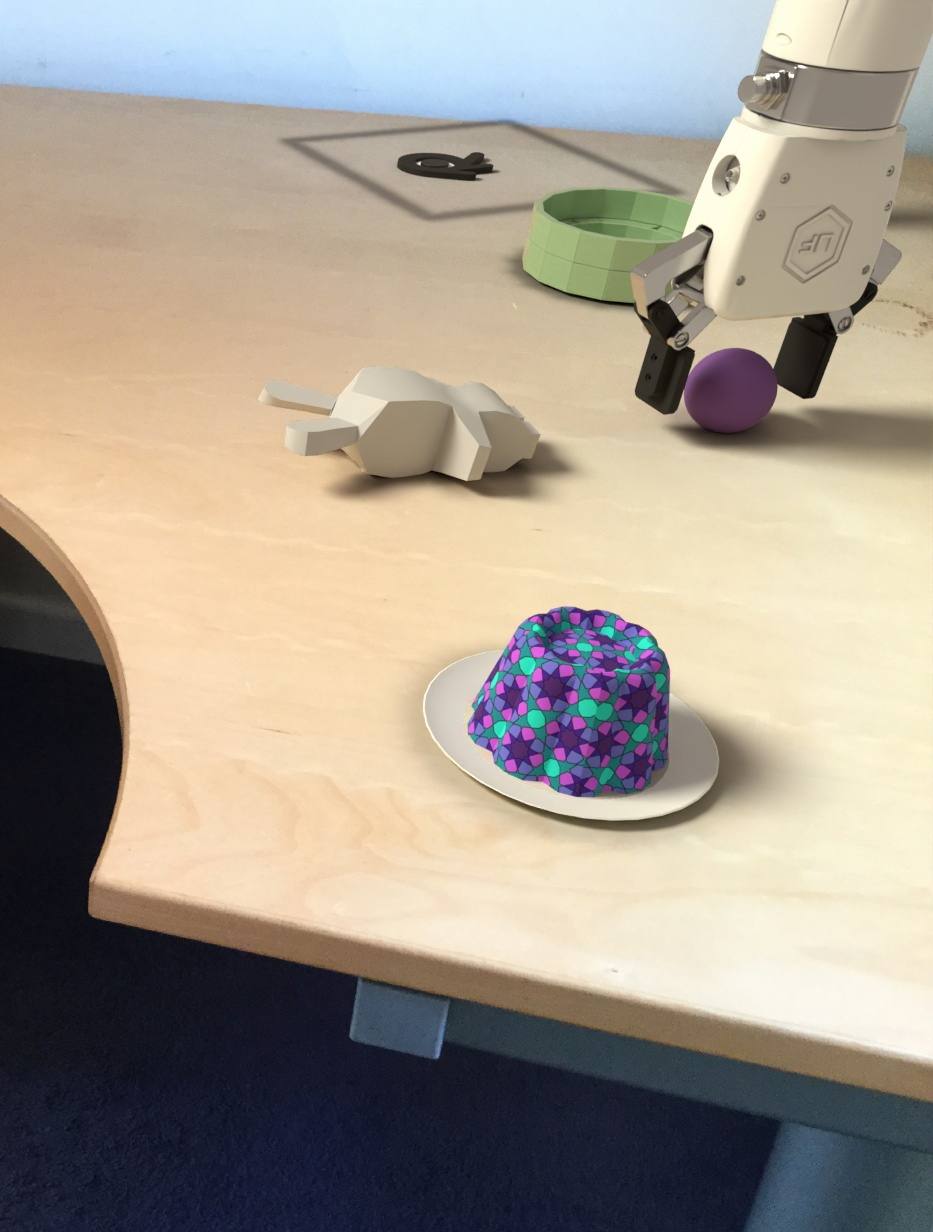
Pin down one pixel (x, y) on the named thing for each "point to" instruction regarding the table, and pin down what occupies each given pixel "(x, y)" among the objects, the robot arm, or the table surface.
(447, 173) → the black fish cutout
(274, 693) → the table surface
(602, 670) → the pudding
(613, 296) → the bowl
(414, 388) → the bunny figurine
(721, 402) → the ball
